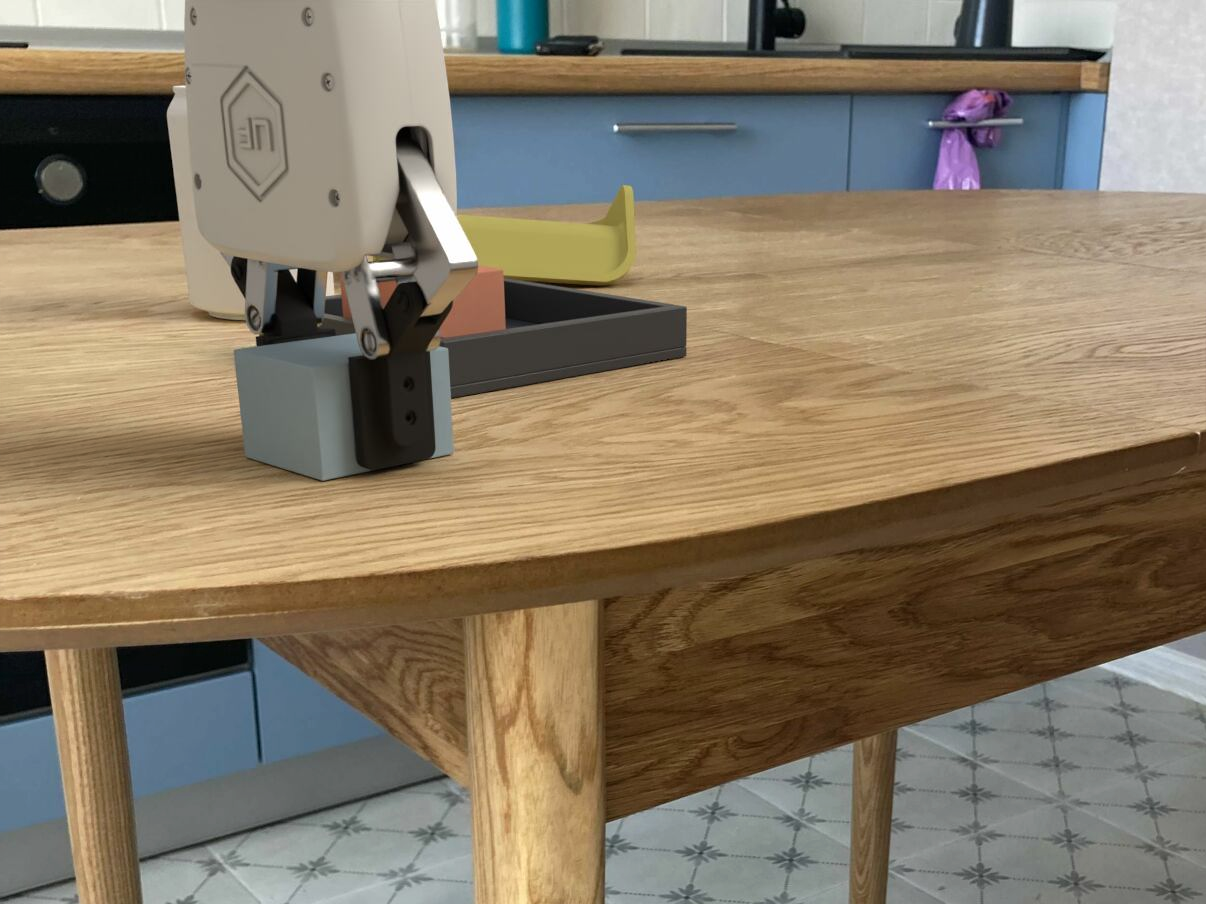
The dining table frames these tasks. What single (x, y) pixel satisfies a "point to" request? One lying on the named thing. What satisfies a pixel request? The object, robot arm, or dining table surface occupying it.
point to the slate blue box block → (316, 405)
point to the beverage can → (202, 261)
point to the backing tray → (553, 337)
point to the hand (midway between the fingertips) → (349, 444)
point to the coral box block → (462, 304)
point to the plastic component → (557, 245)
